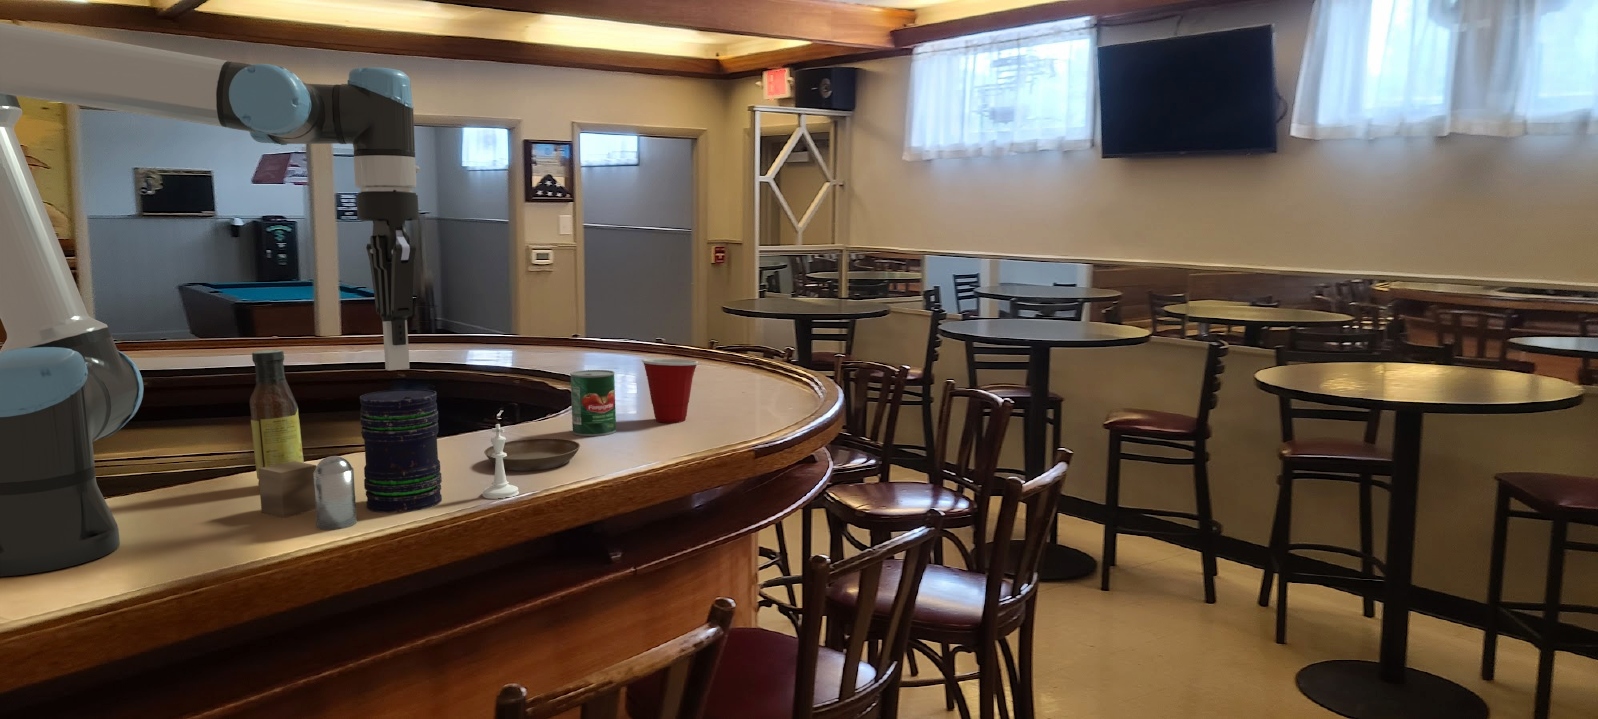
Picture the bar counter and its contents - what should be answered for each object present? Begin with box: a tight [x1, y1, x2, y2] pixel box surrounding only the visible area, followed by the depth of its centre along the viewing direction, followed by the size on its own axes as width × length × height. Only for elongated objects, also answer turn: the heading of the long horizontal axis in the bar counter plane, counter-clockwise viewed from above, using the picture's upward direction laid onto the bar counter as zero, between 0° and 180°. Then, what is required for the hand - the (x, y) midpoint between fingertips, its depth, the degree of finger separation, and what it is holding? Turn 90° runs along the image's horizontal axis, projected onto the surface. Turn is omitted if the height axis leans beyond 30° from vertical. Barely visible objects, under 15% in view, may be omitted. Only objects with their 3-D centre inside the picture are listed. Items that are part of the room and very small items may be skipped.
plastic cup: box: [641, 358, 699, 424], centre depth 200 cm, size 11×11×12 cm
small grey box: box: [258, 461, 317, 519], centre depth 138 cm, size 5×5×6 cm
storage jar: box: [359, 388, 443, 514], centre depth 141 cm, size 10×10×15 cm
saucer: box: [483, 437, 581, 472], centre depth 166 cm, size 15×15×3 cm
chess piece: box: [482, 423, 520, 500], centre depth 145 cm, size 5×5×10 cm
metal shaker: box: [313, 455, 358, 531], centre depth 131 cm, size 5×5×9 cm
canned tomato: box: [569, 369, 617, 437], centre depth 189 cm, size 8×8×11 cm
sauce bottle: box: [249, 349, 305, 488], centre depth 150 cm, size 7×6×20 cm
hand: (397, 368), depth 139 cm, fingers closed
